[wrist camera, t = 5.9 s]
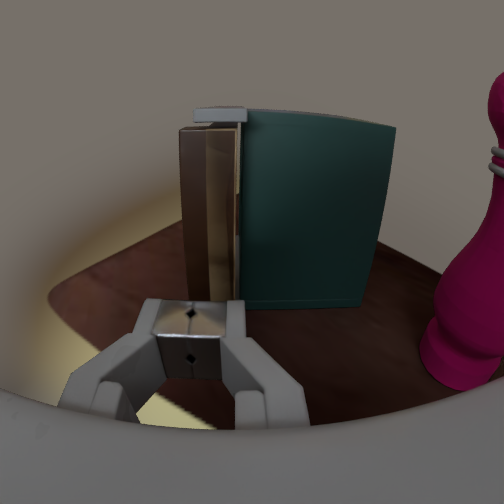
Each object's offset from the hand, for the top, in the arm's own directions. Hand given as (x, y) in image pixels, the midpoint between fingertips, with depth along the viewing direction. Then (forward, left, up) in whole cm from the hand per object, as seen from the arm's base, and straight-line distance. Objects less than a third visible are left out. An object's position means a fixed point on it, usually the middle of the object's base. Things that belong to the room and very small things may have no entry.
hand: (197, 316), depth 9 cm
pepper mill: (-16, -3, -7) cm, 18 cm away
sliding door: (0, -9, -6) cm, 11 cm away
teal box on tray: (-5, -13, -7) cm, 16 cm away
